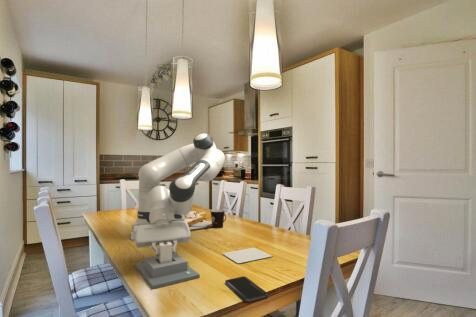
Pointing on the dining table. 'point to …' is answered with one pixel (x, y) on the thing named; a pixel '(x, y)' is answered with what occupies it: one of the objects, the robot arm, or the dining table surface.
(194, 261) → the dining table surface
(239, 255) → the paper stack
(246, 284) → the phone
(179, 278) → the power dock
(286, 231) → the dining table surface
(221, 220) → the coffee mug
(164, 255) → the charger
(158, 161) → the robot arm
